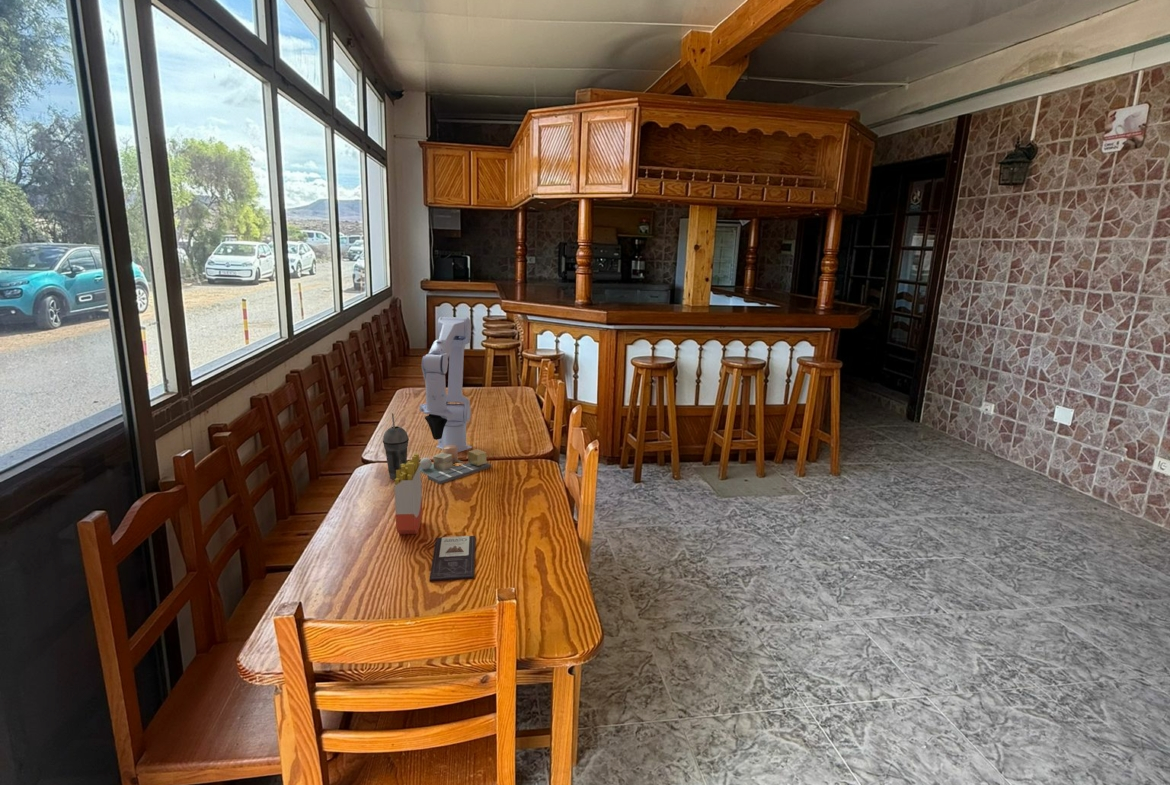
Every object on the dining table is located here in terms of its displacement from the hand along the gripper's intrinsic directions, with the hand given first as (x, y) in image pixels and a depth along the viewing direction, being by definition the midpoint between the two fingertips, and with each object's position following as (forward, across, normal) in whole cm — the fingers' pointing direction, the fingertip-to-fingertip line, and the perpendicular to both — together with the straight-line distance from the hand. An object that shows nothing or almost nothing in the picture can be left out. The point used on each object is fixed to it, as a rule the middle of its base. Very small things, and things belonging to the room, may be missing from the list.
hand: (437, 438), depth 180 cm
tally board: (+10, +6, +4) cm, 13 cm away
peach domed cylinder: (+10, -3, +7) cm, 13 cm away
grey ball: (+10, -4, -2) cm, 11 cm away
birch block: (+10, -1, +2) cm, 10 cm away
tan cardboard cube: (+9, +6, +10) cm, 15 cm away
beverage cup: (+11, -4, -11) cm, 16 cm away
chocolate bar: (+11, +45, -28) cm, 54 cm away
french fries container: (+11, +26, -27) cm, 39 cm away
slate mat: (+10, -2, +2) cm, 11 cm away
